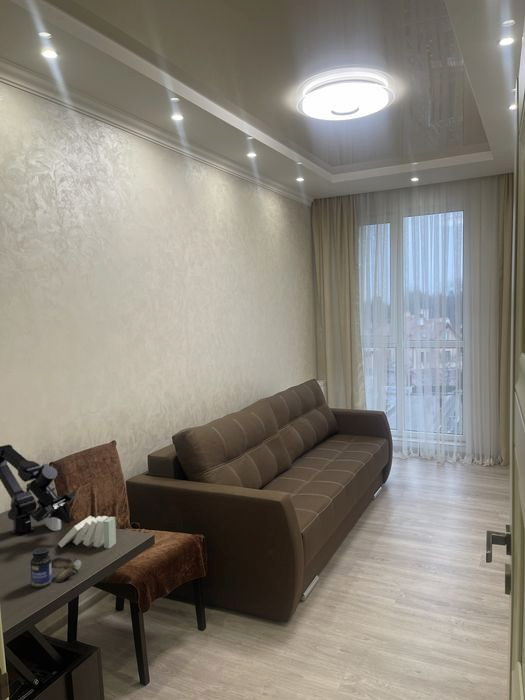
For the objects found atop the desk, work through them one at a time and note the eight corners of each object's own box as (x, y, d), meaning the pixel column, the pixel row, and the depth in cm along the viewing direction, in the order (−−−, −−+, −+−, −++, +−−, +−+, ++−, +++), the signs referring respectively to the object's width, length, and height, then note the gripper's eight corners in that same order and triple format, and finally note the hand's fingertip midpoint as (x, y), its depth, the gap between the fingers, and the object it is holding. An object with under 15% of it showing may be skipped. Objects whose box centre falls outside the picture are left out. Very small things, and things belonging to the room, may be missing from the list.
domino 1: (57, 543, 197) (74, 526, 195) (74, 531, 207) (90, 515, 205) (61, 547, 196) (77, 530, 194) (78, 535, 207) (93, 519, 205)
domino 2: (72, 541, 198) (86, 521, 197) (80, 536, 203) (93, 516, 202) (76, 545, 198) (90, 525, 196) (84, 539, 203) (97, 520, 201)
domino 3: (82, 543, 198) (91, 520, 196) (90, 538, 202) (99, 515, 201) (87, 546, 197) (96, 523, 196) (94, 540, 202) (103, 518, 201)
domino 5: (104, 548, 196) (103, 521, 195) (111, 542, 200) (110, 516, 200) (109, 548, 195) (108, 522, 195) (115, 542, 200) (115, 517, 199)
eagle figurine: (69, 563, 181) (44, 568, 174) (78, 549, 179) (53, 553, 172) (78, 582, 176) (52, 587, 170) (86, 567, 174) (61, 572, 168)
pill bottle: (29, 589, 166) (28, 555, 165) (33, 580, 172) (32, 547, 171) (50, 587, 167) (49, 553, 166) (53, 578, 173) (52, 545, 172)
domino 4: (93, 546, 197) (96, 520, 196) (100, 540, 201) (103, 515, 200) (98, 547, 196) (101, 521, 195) (105, 541, 201) (108, 516, 200)
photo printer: (43, 524, 218) (42, 495, 217) (54, 522, 221) (53, 492, 220) (51, 532, 210) (50, 501, 210) (62, 529, 213) (61, 499, 212)
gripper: (46, 498, 214) (71, 527, 212) (14, 514, 196) (41, 546, 194) (62, 480, 211) (88, 509, 210) (32, 495, 193) (60, 527, 191)
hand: (69, 523), depth 201 cm, fingers closed
